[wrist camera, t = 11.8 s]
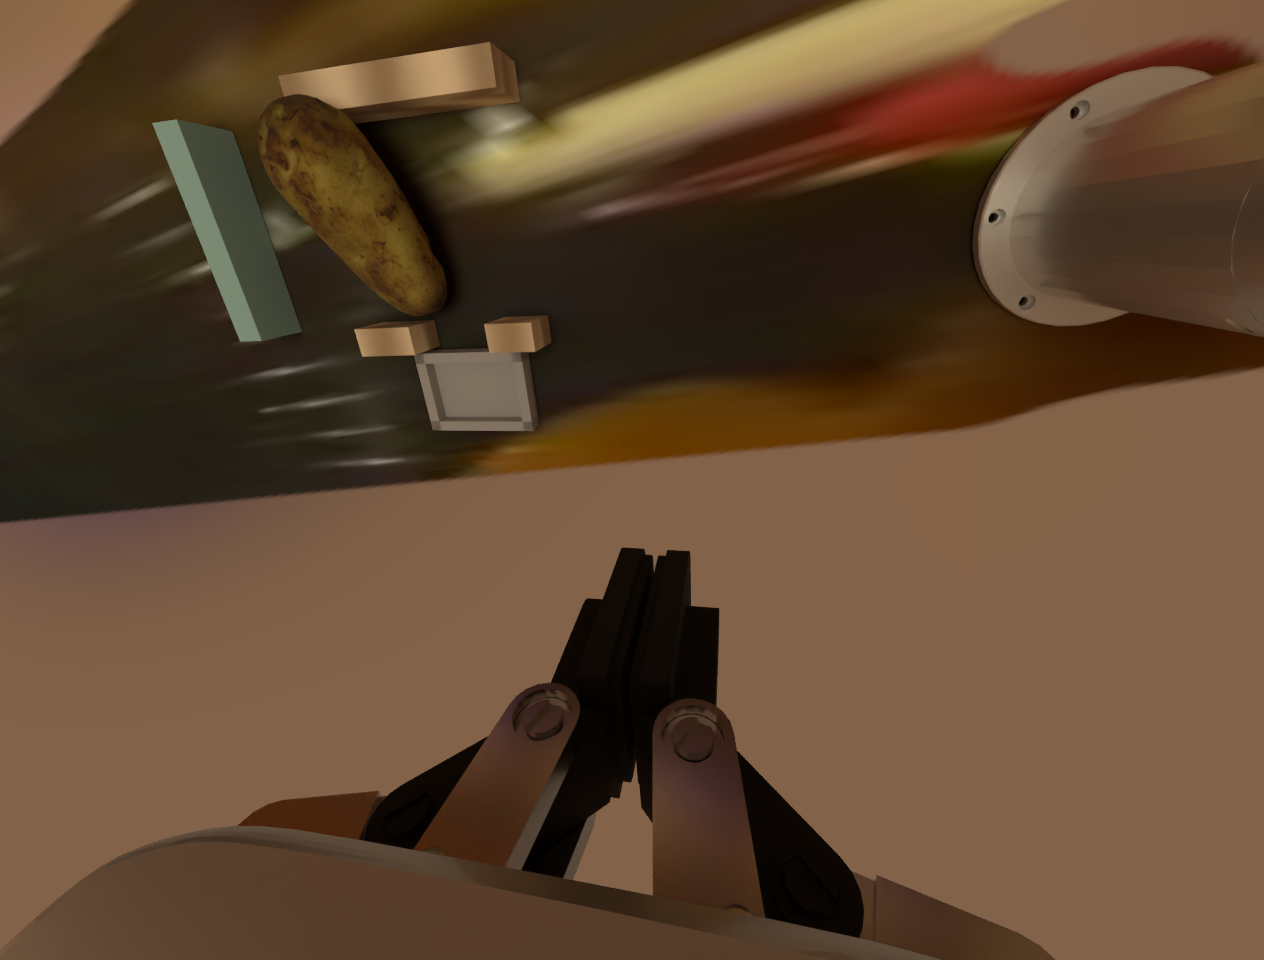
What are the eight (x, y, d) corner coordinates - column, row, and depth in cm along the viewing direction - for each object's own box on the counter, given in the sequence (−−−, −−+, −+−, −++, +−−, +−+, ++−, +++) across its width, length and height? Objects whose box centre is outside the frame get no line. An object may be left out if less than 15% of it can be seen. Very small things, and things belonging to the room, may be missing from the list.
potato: (375, 316, 39) (296, 333, 32) (317, 123, 34) (207, 92, 27) (468, 309, 38) (407, 326, 31) (424, 105, 32) (337, 67, 25)
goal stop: (232, 131, 35) (176, 119, 32) (302, 331, 41) (261, 340, 38) (210, 134, 35) (152, 123, 32) (282, 332, 41) (240, 341, 38)
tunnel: (514, 62, 30) (489, 42, 27) (551, 342, 38) (535, 351, 34) (320, 91, 33) (278, 76, 30) (390, 347, 40) (362, 356, 37)
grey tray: (527, 347, 38) (520, 351, 37) (539, 424, 41) (533, 430, 40) (424, 350, 40) (413, 353, 38) (442, 424, 43) (433, 430, 41)
